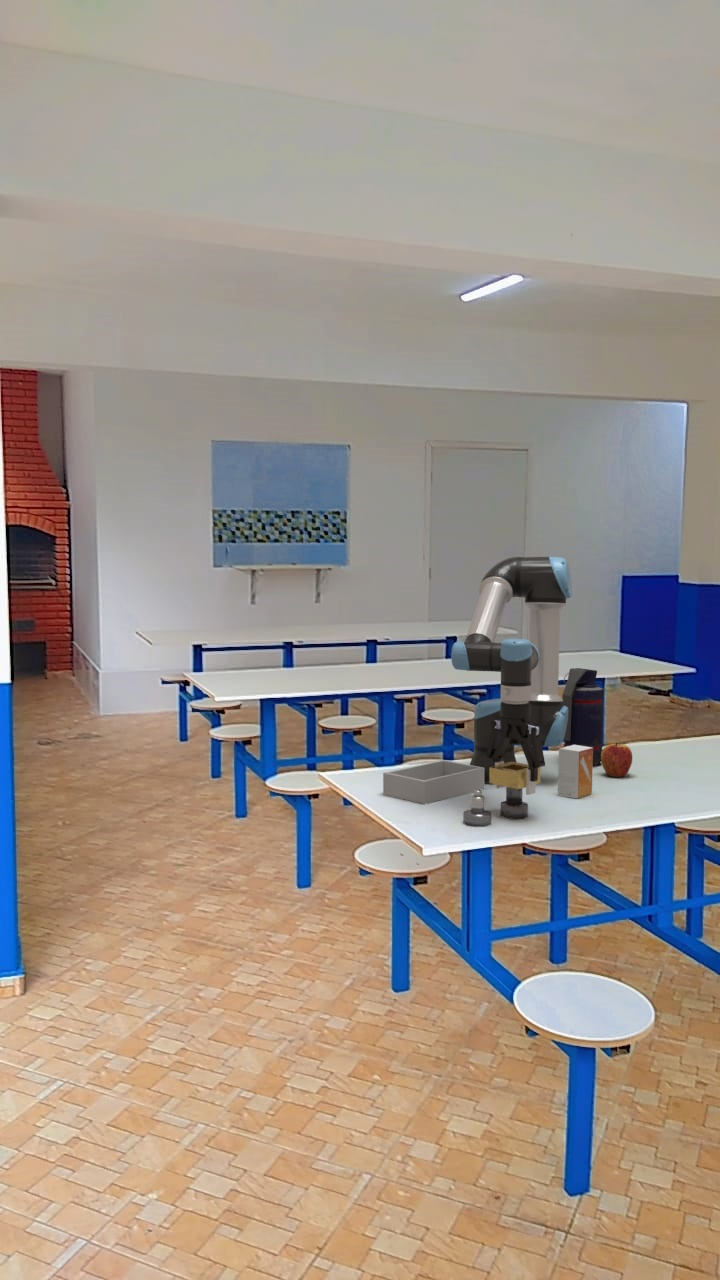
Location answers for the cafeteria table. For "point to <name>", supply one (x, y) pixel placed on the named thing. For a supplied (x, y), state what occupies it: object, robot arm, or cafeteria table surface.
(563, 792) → the small box
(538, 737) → the robot arm
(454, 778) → the gray bin
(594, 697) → the grenade
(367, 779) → the cafeteria table surface
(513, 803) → the dark grey round-headed cylinder
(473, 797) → the cylinder
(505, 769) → the gold square ring
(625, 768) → the apple
